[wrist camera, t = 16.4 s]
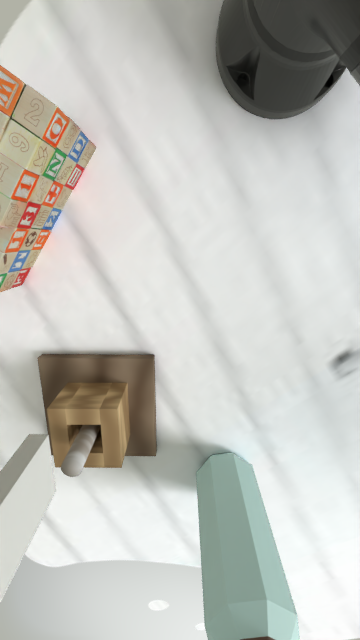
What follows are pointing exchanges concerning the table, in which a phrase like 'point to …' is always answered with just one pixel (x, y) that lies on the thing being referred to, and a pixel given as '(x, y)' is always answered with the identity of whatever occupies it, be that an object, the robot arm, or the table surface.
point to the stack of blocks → (33, 173)
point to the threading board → (104, 370)
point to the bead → (91, 421)
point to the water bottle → (240, 557)
